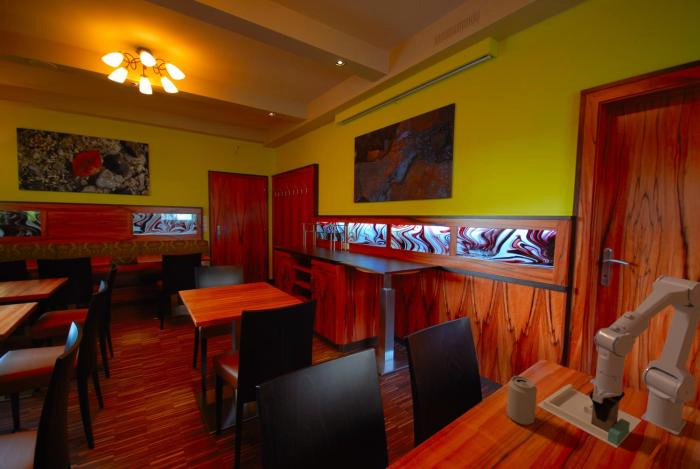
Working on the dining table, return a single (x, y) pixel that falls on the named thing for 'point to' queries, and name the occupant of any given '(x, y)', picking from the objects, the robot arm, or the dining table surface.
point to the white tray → (587, 415)
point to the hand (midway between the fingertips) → (604, 416)
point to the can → (521, 400)
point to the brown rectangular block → (611, 418)
